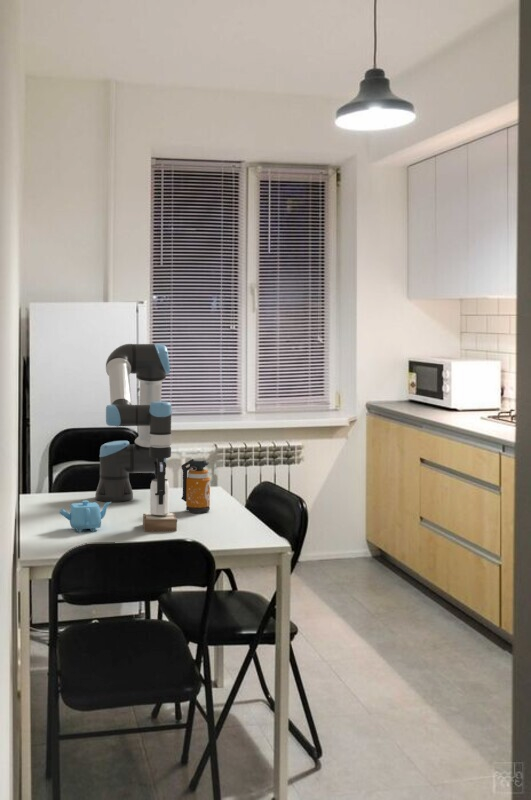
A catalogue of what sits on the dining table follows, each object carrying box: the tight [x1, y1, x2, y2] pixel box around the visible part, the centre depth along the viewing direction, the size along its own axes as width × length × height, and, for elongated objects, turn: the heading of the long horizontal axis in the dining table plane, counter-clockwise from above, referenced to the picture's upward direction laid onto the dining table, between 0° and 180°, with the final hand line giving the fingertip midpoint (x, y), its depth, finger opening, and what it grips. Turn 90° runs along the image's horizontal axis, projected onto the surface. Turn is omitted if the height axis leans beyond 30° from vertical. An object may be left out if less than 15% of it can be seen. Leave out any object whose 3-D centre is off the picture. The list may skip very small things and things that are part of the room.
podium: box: [142, 512, 178, 533], centre depth 316 cm, size 11×11×4 cm
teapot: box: [58, 500, 113, 533], centre depth 312 cm, size 18×14×10 cm
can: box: [149, 478, 170, 515], centre depth 316 cm, size 6×6×12 cm
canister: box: [180, 458, 211, 514], centre depth 345 cm, size 9×11×20 cm
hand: (159, 511), depth 316 cm, fingers open, 7 cm apart
